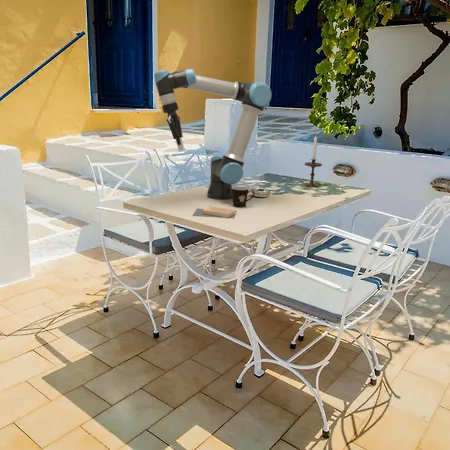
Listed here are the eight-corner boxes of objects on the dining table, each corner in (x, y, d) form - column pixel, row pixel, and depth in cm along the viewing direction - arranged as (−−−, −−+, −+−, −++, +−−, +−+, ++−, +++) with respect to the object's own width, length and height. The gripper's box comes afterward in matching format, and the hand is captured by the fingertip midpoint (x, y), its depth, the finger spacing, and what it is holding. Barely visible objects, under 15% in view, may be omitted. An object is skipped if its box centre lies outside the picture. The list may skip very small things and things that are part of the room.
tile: (210, 206, 231) (236, 210, 225) (210, 210, 232) (236, 214, 226) (201, 210, 224) (228, 214, 218) (201, 214, 224) (228, 218, 218)
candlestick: (304, 183, 309) (308, 129, 300) (321, 185, 306) (325, 130, 296) (301, 186, 299) (306, 131, 290) (318, 188, 296) (323, 132, 286)
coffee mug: (230, 208, 238) (230, 189, 236) (232, 204, 247) (232, 186, 244) (252, 210, 237) (253, 190, 234) (254, 206, 245) (255, 187, 242)
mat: (197, 209, 234) (197, 208, 234) (236, 211, 232) (236, 210, 232) (191, 217, 220) (191, 215, 220) (234, 219, 219) (234, 218, 218)
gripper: (166, 104, 234) (179, 150, 240) (157, 106, 222) (170, 154, 228) (180, 101, 232) (192, 147, 238) (171, 102, 220) (185, 151, 226)
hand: (181, 151), depth 233 cm, fingers closed
